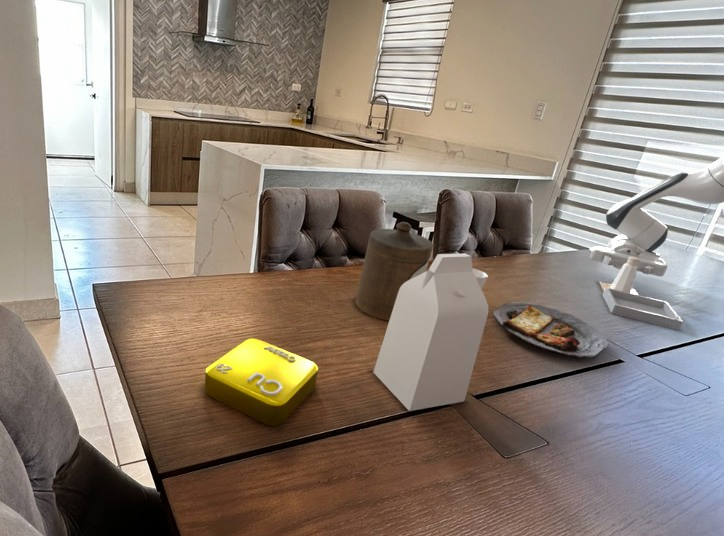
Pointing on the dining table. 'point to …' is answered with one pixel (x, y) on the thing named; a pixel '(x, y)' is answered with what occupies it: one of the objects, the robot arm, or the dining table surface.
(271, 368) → the element tile
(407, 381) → the milk
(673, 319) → the tray
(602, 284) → the coaster
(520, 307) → the food plate
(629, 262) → the pepper shaker
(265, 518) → the dining table surface
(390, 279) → the wooden container
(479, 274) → the cup
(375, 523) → the dining table surface
